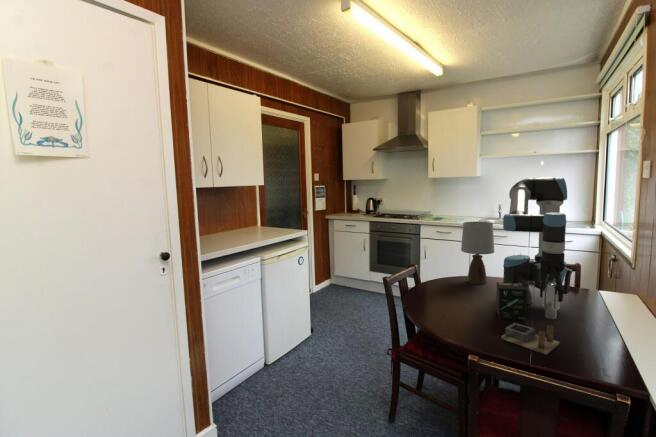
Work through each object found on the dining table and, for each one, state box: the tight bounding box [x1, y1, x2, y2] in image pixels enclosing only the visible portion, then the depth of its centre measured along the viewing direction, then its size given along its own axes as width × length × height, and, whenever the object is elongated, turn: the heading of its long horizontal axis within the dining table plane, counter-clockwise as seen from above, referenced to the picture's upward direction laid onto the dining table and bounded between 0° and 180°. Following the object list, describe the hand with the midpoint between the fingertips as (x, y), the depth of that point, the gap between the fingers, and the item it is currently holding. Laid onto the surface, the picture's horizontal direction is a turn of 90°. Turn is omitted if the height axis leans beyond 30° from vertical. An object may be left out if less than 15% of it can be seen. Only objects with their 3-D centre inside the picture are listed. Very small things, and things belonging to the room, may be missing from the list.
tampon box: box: [495, 282, 527, 322], centre depth 150 cm, size 11×9×15 cm
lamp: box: [460, 221, 495, 285], centre depth 201 cm, size 19×19×37 cm
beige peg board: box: [500, 322, 560, 355], centre depth 127 cm, size 16×12×7 cm
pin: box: [544, 282, 558, 320], centre depth 133 cm, size 4×4×14 cm
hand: (550, 307), depth 133 cm, fingers closed on pin, 4 cm apart
